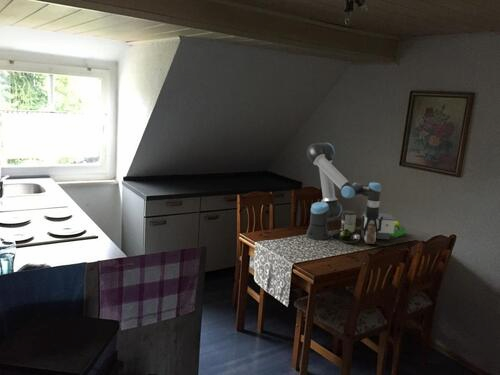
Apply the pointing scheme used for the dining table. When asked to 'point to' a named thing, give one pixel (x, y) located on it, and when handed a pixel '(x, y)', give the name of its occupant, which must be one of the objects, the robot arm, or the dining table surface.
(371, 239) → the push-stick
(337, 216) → the robot arm
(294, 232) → the dining table surface
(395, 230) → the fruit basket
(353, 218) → the clear glass jar
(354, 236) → the steel puck
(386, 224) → the cabinet
